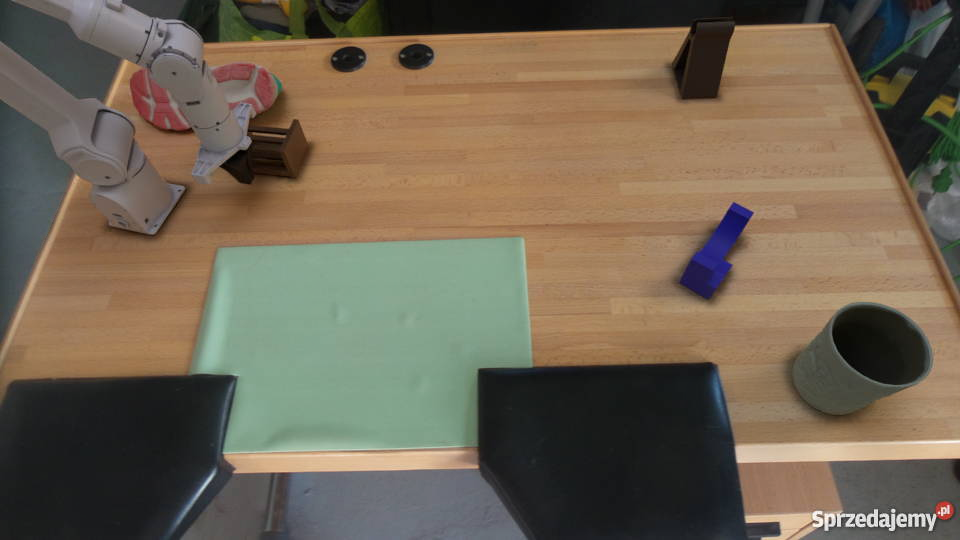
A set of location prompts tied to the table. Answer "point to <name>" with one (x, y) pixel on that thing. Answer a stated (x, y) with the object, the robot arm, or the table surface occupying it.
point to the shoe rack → (279, 148)
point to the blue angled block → (716, 253)
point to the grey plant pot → (862, 358)
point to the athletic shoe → (233, 80)
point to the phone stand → (703, 57)
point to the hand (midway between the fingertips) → (246, 180)
